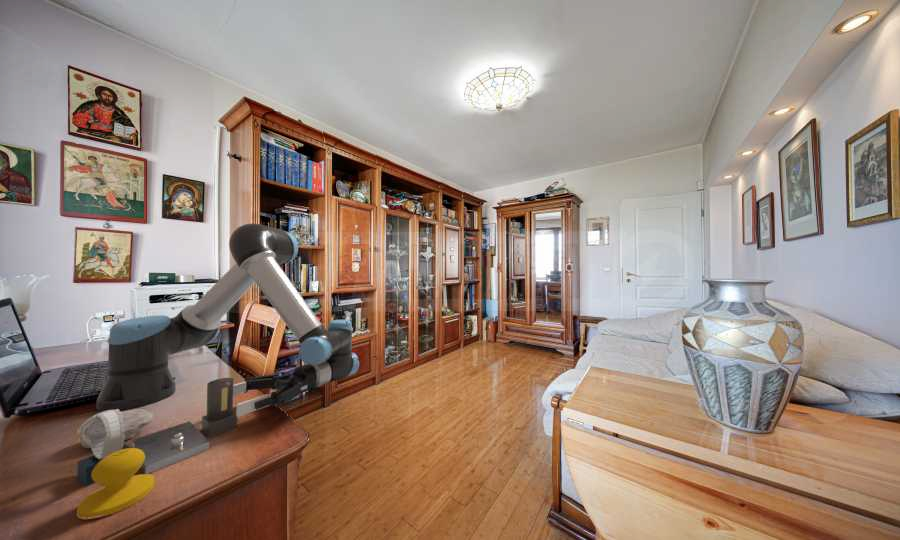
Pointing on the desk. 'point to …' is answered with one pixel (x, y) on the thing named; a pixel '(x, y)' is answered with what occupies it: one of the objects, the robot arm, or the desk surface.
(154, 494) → the desk surface
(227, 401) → the cylinder
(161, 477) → the desk surface
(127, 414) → the fossil
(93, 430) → the watch
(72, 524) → the desk surface
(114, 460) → the yellow stacked oval discs
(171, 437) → the hub plate
